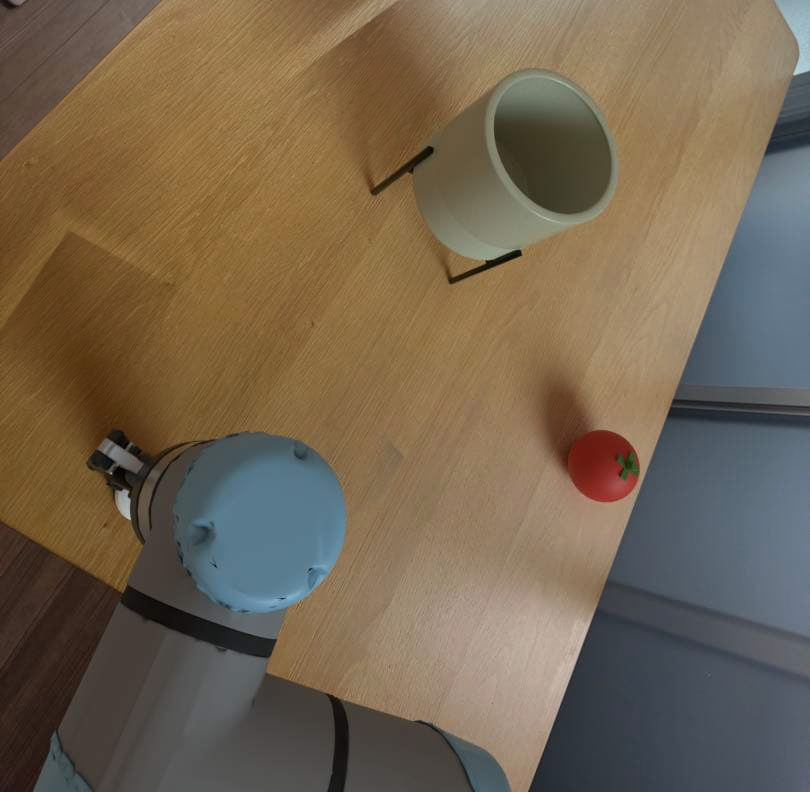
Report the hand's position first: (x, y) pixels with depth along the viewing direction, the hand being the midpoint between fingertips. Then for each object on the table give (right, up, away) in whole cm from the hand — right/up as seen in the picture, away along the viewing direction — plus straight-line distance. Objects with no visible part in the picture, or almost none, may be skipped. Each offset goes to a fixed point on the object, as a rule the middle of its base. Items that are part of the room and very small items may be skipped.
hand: (146, 491), depth 64 cm
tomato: (+44, -4, +22) cm, 49 cm away
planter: (+26, +26, +22) cm, 43 cm away
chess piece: (0, 0, 0) cm, 1 cm away
